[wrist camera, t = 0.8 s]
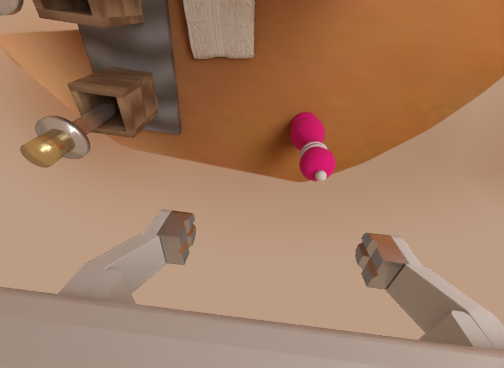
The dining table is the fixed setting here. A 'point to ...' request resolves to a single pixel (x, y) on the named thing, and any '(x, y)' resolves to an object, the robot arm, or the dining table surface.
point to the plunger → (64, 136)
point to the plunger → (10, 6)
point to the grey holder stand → (124, 62)
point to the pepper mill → (311, 147)
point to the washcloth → (221, 28)
